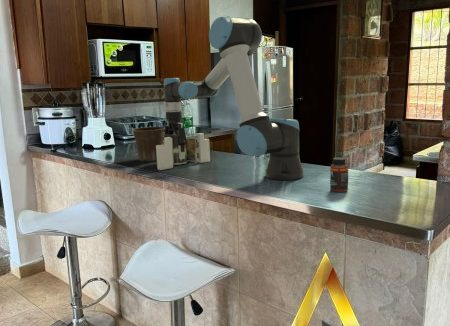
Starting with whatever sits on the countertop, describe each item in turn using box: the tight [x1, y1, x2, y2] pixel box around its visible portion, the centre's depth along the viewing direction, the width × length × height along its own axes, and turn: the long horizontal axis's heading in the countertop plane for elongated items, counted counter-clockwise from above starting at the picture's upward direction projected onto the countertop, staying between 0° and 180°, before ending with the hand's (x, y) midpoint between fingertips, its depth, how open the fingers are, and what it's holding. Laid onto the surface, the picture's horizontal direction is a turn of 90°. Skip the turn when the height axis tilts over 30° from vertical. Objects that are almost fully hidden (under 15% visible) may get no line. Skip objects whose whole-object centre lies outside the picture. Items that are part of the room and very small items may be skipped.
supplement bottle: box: [329, 157, 349, 193], centre depth 143 cm, size 6×6×11 cm
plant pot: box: [131, 126, 165, 163], centre depth 215 cm, size 16×16×16 cm
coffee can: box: [163, 132, 188, 166], centre depth 203 cm, size 10×10×14 cm
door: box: [186, 137, 198, 162], centre depth 208 cm, size 13×3×11 cm, turn 62°
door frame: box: [156, 132, 211, 171], centre depth 197 cm, size 2×28×14 cm, turn 128°
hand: (176, 157), depth 203 cm, fingers closed on coffee can, 10 cm apart
